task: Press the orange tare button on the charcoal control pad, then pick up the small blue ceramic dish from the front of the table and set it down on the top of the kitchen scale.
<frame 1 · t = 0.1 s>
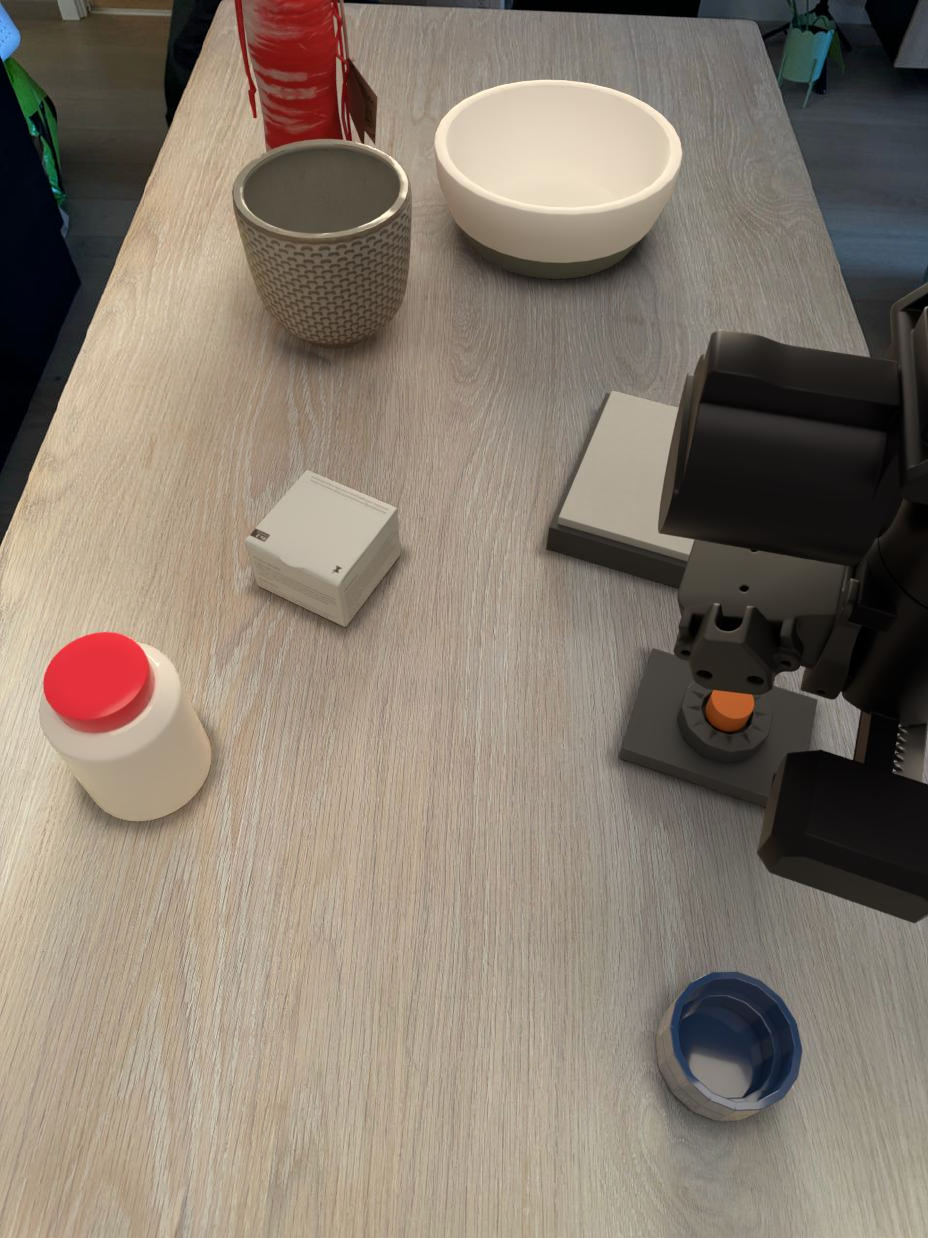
hand: (815, 762, 44), 14 cm above the table, tool pointing down, fingers open, 9 cm apart
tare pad: (716, 733, 61), on the table
small box: (330, 571, 69), on the table
small dish: (714, 1054, 50), on the table
bowl: (549, 226, 93), on the table
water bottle: (328, 213, 93), on the table
tare button: (729, 707, 58), point 4 cm above the table, slide at 0.1 cm
scale: (675, 506, 72), on the table
planter: (337, 325, 84), on the table
pill bottle: (150, 765, 60), on the table
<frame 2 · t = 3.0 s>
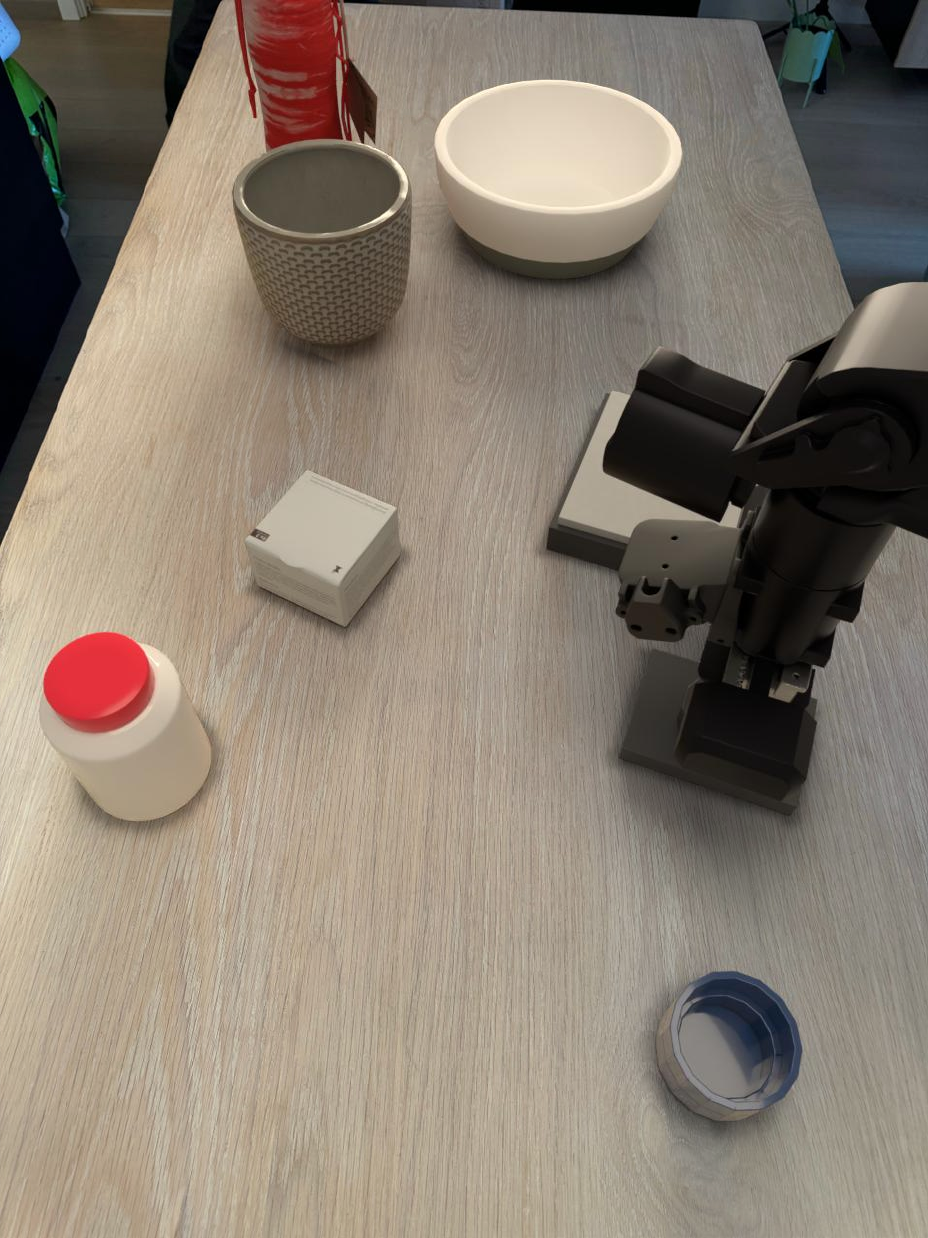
hand: (732, 703, 58), 4 cm above the table, tool pointing down, fingers closed, pressing on tare button
tare button: (728, 709, 59), point 3 cm above the table, slide at -0.2 cm, touching gripper
everything else where it was.
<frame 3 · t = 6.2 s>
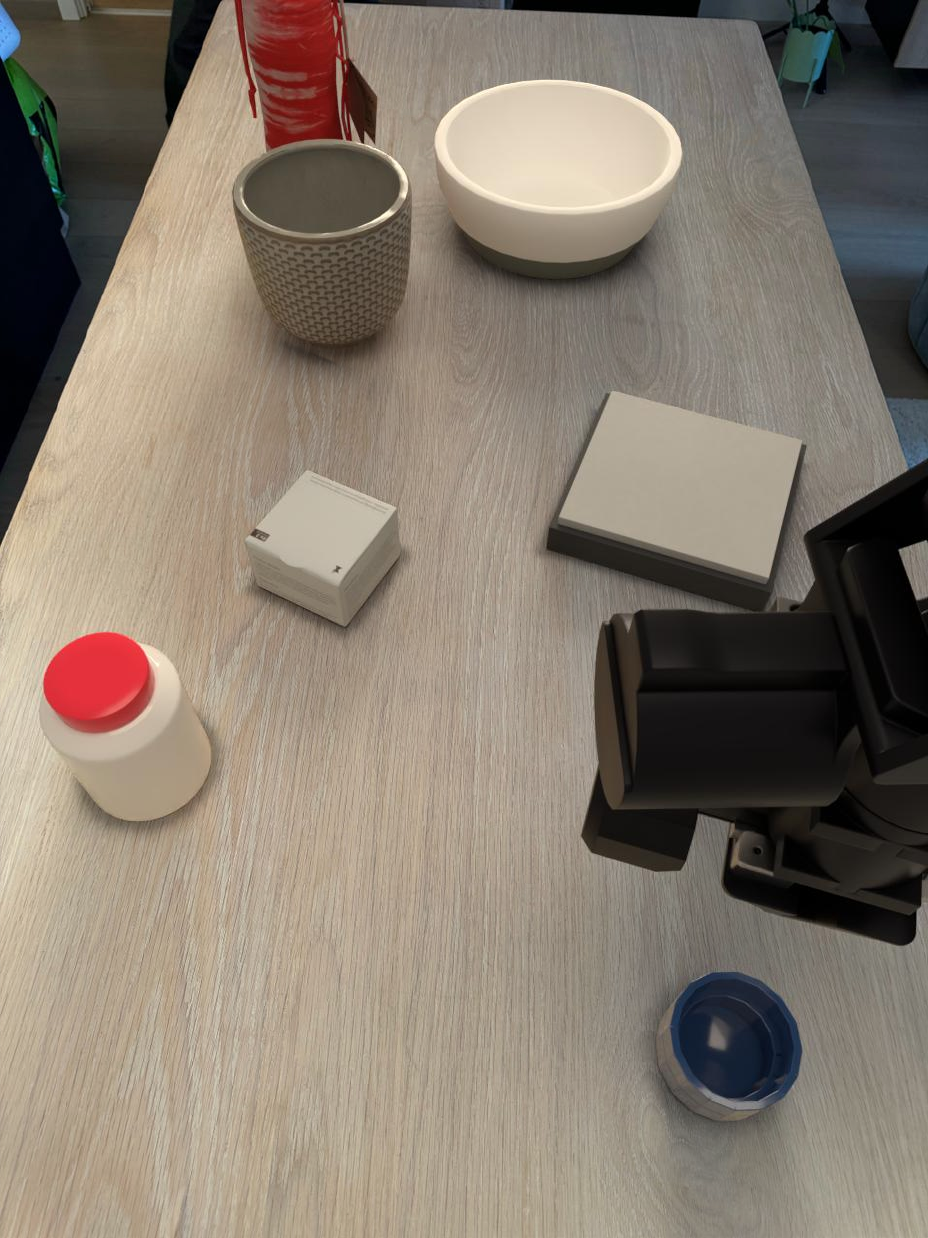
hand: (773, 903, 43), 12 cm above the table, tool pointing down, fingers closed
tare button: (729, 707, 58), point 4 cm above the table, slide at 0.1 cm
everything else where it was.
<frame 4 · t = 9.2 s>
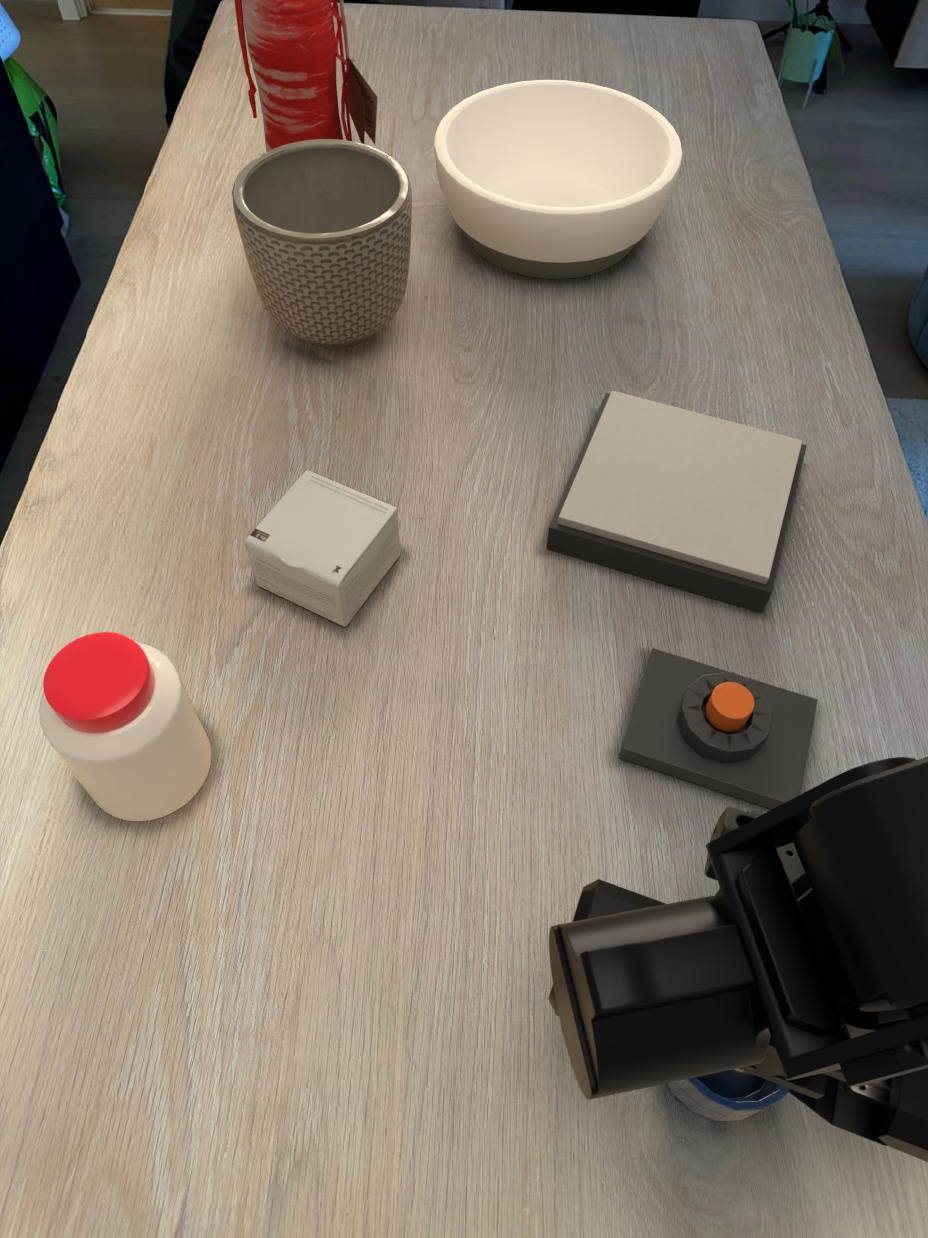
hand: (720, 1050, 49), 1 cm above the table, tool pointing down, fingers closed on small dish, 6 cm apart
small dish: (714, 1054, 50), on the table, touching gripper
everything else where it was.
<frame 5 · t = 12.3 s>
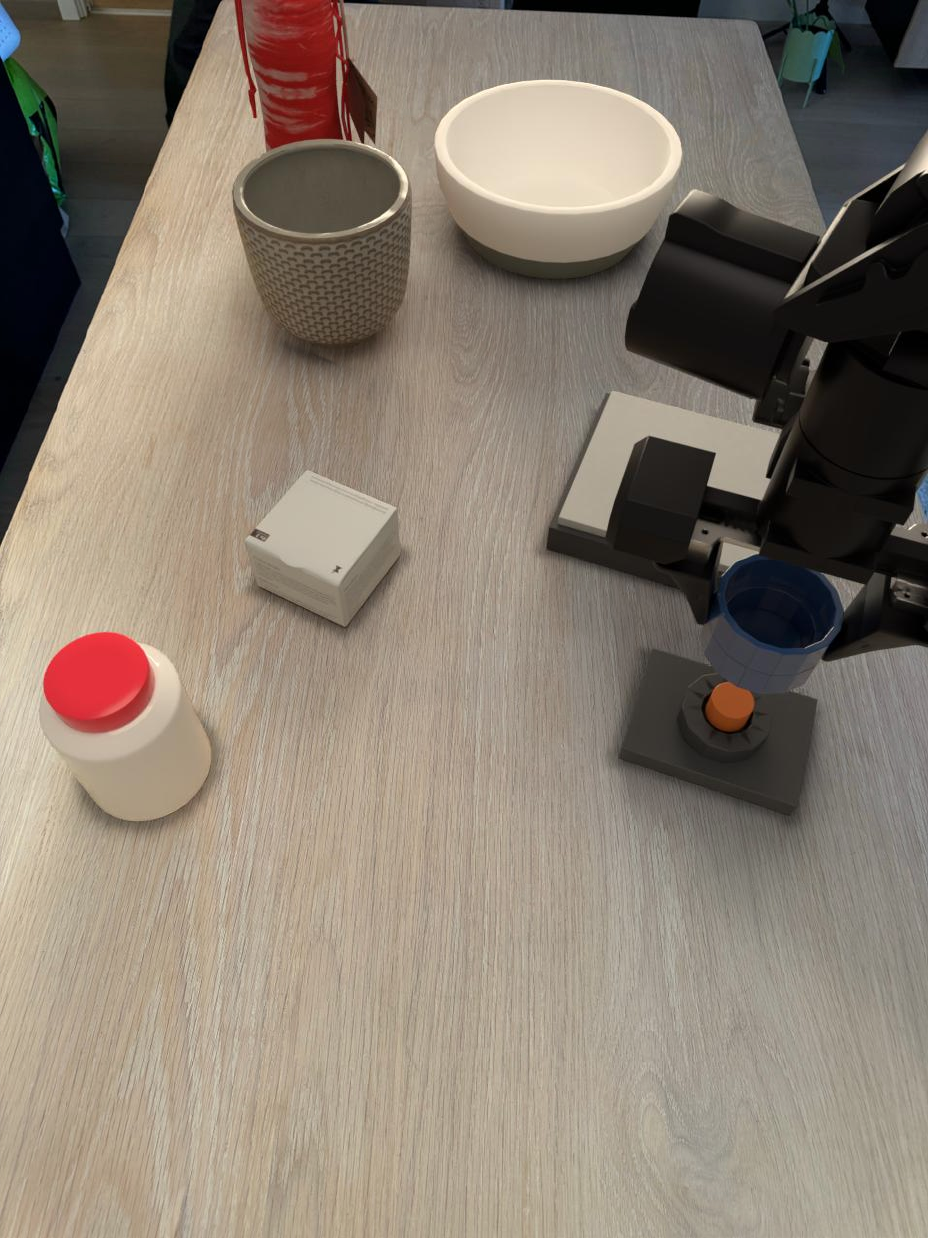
hand: (763, 635, 52), 12 cm above the table, tool pointing down, fingers closed on small dish, 6 cm apart
small dish: (756, 648, 53), point 10 cm above the table, touching gripper
everything else where it was.
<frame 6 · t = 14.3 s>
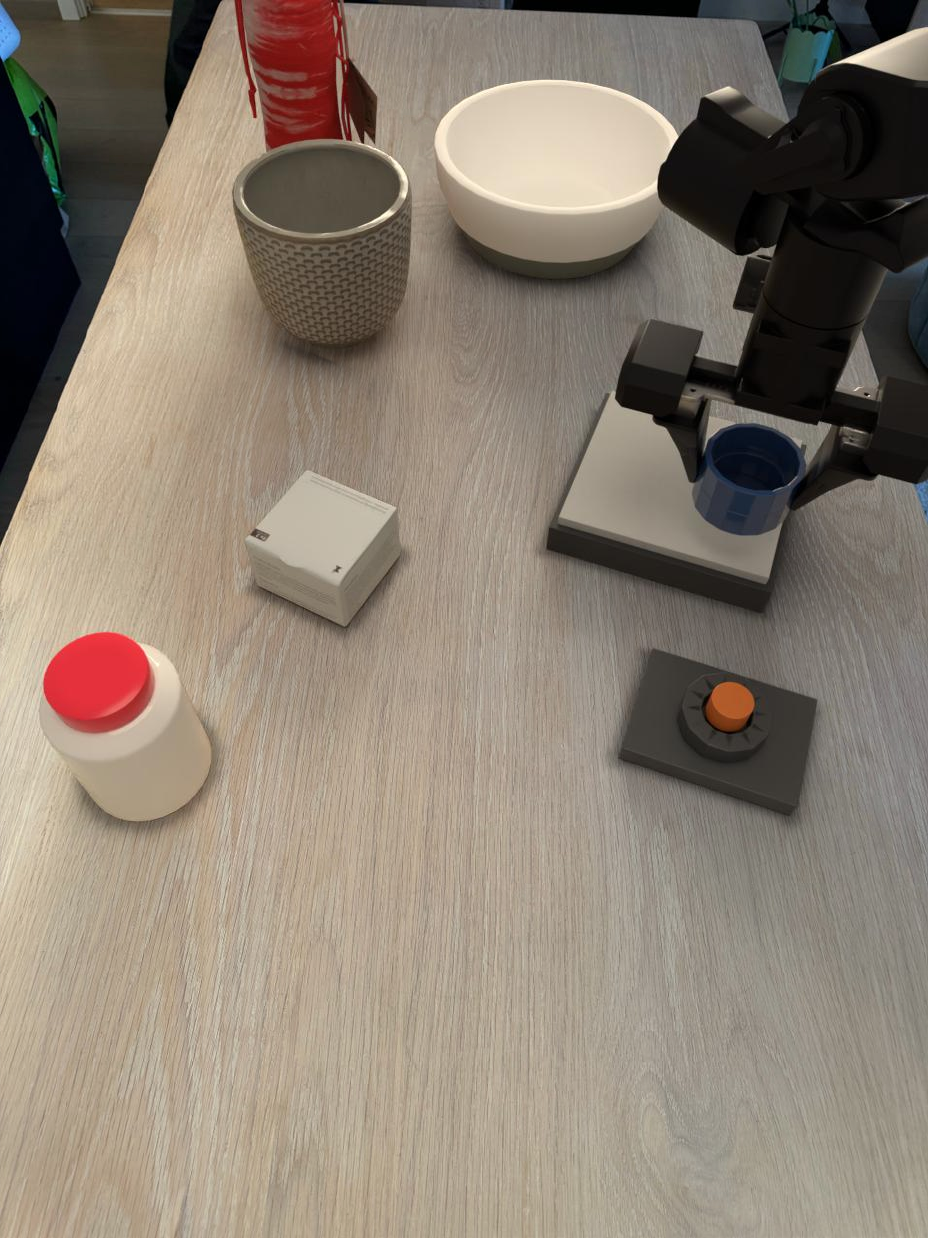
hand: (742, 491, 64), 7 cm above the table, tool pointing down, fingers closed on small dish, 6 cm apart
small dish: (737, 504, 65), point 6 cm above the table, touching gripper
everything else where it was.
when the fingers open (5 cm above the table, at t = 15.6 s): small dish stays where it is, resting on scale.
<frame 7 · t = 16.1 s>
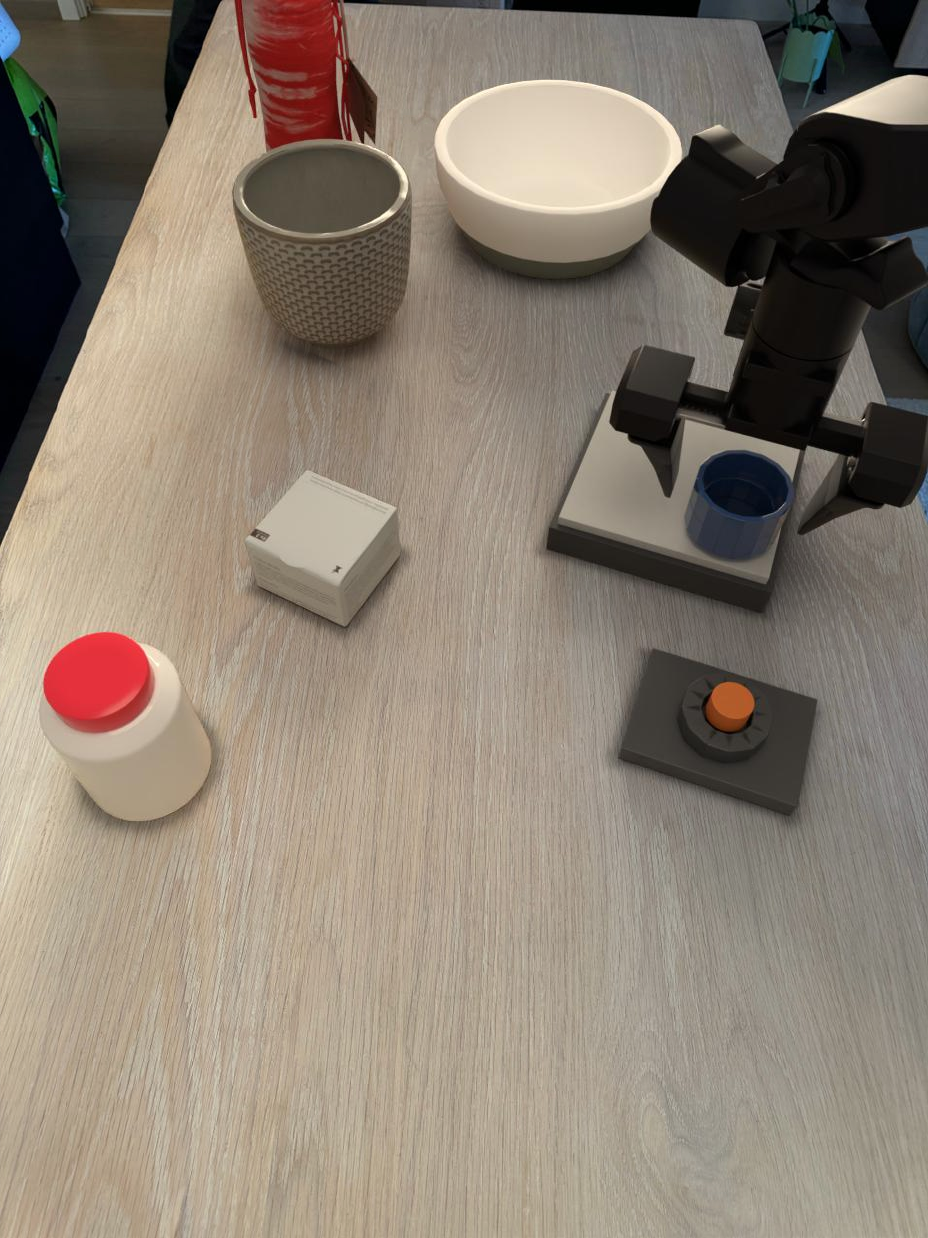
hand: (734, 511, 65), 5 cm above the table, tool pointing down, fingers open, 9 cm apart
small dish: (728, 527, 67), point 3 cm above the table, touching scale
everything else where it was.
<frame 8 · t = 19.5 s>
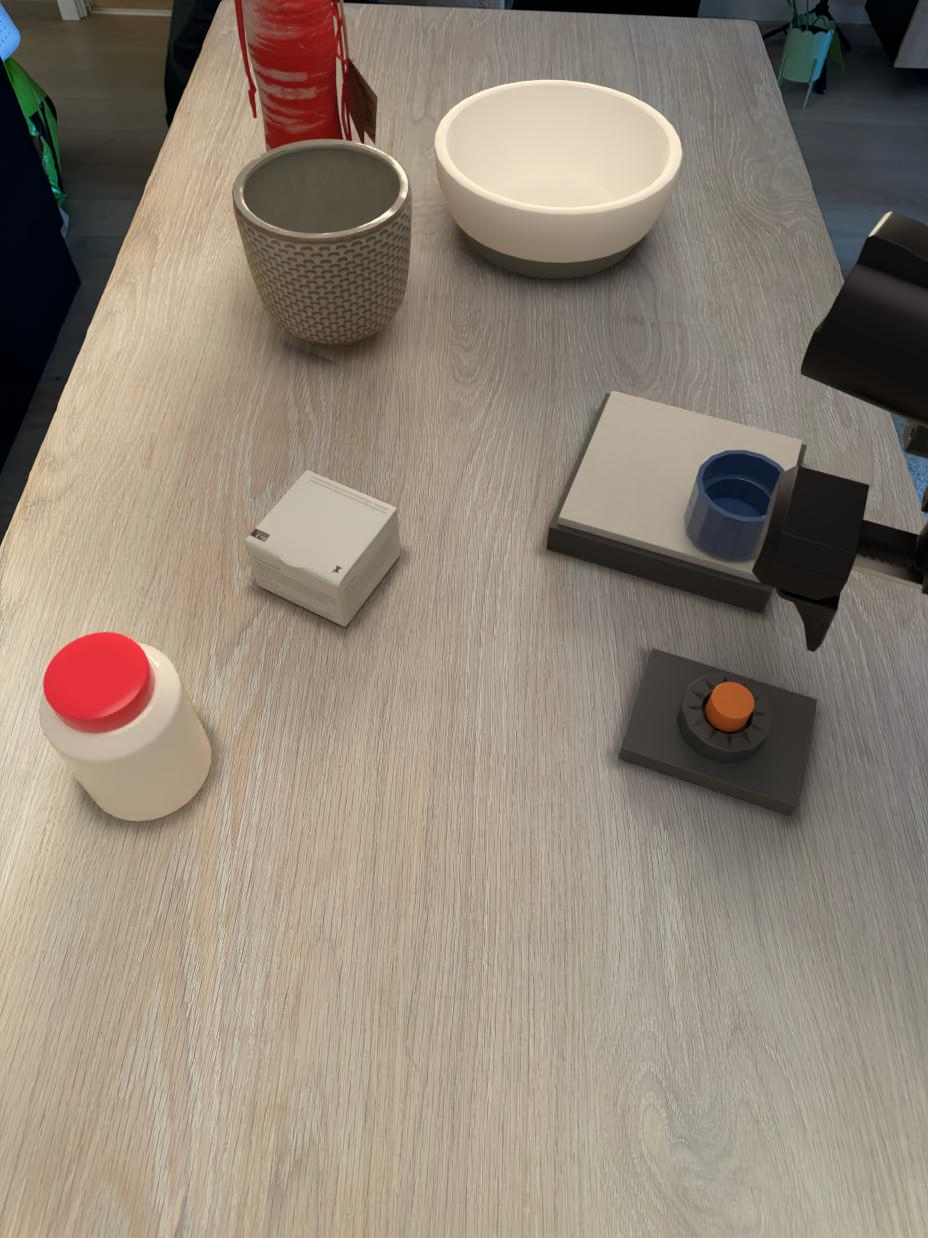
hand: (899, 670, 50), 12 cm above the table, tool pointing down, fingers open, 9 cm apart
nothing on the table moved.
at the end: tare button pushed in 0.9 cm at the most during the clip, back to where it started at the end; small dish inside the target area on the scale (0.4 cm from its centre), point 3.3 cm above the scale's base; small dish tilted 0° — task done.
